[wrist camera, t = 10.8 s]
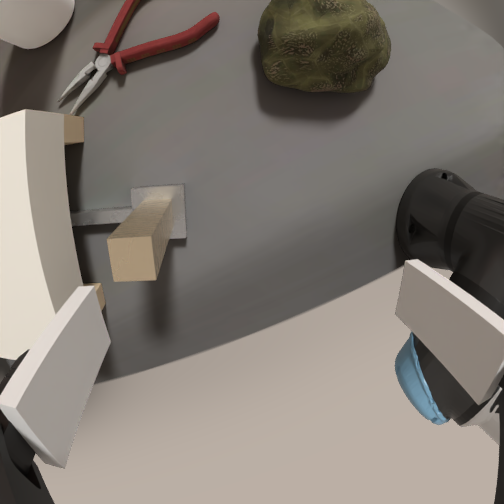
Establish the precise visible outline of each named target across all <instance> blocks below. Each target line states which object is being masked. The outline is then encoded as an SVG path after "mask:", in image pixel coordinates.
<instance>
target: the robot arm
mask: <svg viewBox="0 0 504 504" xmlns="http://www.w3.org/2000/svg"><path fill="white" fill-rule="evenodd" d="M397 235H398V239H399V243H400V245H401V248H402V249H403V251H404V253H405V254H406V255H407V256H408V257H409V258H411V259H412V260H406V261H405V265H404V271H403V277H402V282H401V288H400V293H399V298H398V303H397V308H396V312H395V314H396V315H397V316H398V317H399V318H400V319H401V320H402V321H403V323H404V324H405V325H406V326H407V327H408V328H409V329H410V330H411V331H412V332H411V334H410V337H409V339H408V340H407V342H406V343H405V344H404V346H403V347H402V349H401V350H400V351H399V353H398V355H397V357H396V361H395V371H396V375H397V378H398V381H399V384H400V386H401V388H402V389H403V391H404V393H405V395H406V396H407V398H408V399H409V400H410V402H411V403H412V404H413V406H414V407H415V408H416V409H417V410H418V411H419V413H420V414H421V415H423V416H424V417H425V418H426V419H428V420H431V421H432V423H434V424H437V425H441V424H443V423H445V422H448V421H449V420H450V419H451V418H452V419H453V420H454V421H455V422H456V423H457V424H458V425H459V426H461V427H465V426H471V425H478V426H480V427H481V428H482V429H483V430H484V431H485V432H486V433H487V434H488V435H489V436H490V437H491V438H492V439H493V440H494V441H495V442H496V443H497V444H498V445H499V467H498V478H497V487H496V495H495V502H494V504H504V200H502V199H499V198H496V197H493V196H490V195H487V194H484V193H480V192H478V191H476V190H475V189H474V188H473V187H471V186H470V185H469V184H468V183H466V182H465V181H464V180H463V179H461V178H460V177H459V176H458V175H456V174H454V173H452V172H450V171H447V170H442V169H437V168H434V169H428V170H426V171H424V172H422V173H420V174H419V175H418V176H416V177H415V178H414V179H413V180H412V182H411V183H410V184H409V186H408V187H407V189H406V191H405V193H404V195H403V197H402V200H401V202H400V206H399V210H398V215H397ZM430 267H432V268H439V269H446V270H451V271H452V272H453V274H452V275H451V277H450V279H449V280H448V279H447V278H445V277H444V276H442V275H441V274H440V273H438V272H437V271H435V270H434V269H432V268H430ZM110 343H111V341H110V338H109V335H108V332H107V328H106V325H105V322H104V319H103V315H102V312H101V309H100V305H99V302H98V298H97V294H96V290H95V287H94V286H79V287H78V288H77V289H76V290H75V291H74V293H73V294H72V295H71V296H70V297H69V299H68V300H67V301H66V302H65V304H64V305H63V306H62V307H61V309H60V310H59V311H58V312H57V314H56V315H55V316H54V318H53V319H52V320H51V322H50V323H49V324H48V326H47V327H46V328H45V330H44V331H43V332H42V334H41V335H40V336H39V338H38V339H37V340H36V342H35V343H34V345H33V346H32V348H31V349H28V350H27V351H25V352H24V353H23V354H22V355H20V356H19V357H18V358H17V360H16V361H15V363H14V364H13V365H12V367H11V370H9V371H8V373H7V374H6V378H4V379H3V380H2V382H1V384H0V504H54V502H53V500H52V498H51V496H50V494H49V491H48V489H47V487H46V485H45V483H44V480H43V478H42V476H41V473H40V471H39V469H38V467H37V465H36V464H35V462H34V461H33V458H34V455H35V453H36V454H37V455H38V456H39V457H40V458H41V459H42V461H43V462H44V463H46V464H49V465H53V466H56V467H60V468H65V466H66V463H67V459H68V456H69V453H70V449H71V446H72V443H73V440H74V437H75V434H76V431H77V428H78V425H79V422H80V419H81V416H82V414H83V411H84V408H85V405H86V403H87V400H88V397H89V394H90V392H91V389H92V387H93V384H94V382H95V379H96V376H97V374H98V372H99V369H100V367H101V364H102V362H103V359H104V357H105V355H106V352H107V350H108V348H109V345H110Z"/></svg>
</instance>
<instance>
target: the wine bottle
mask: <svg viewBox="0 0 504 504" xmlns="http://www.w3.org/2000/svg"><path fill="white" fill-rule="evenodd" d="M74 5H75V1H74V0H0V39H1V40H4V41H6V42H9V43H11V44H14V45H16V46H19V47H21V48H24V49H34V48H38V47H41V46H43V45H45V44H47V43H48V42H50V41H51V40H53V39H54V38H55V37H56V36H57V35H58V34H59V33H60V32H61V31H62V30H63V29H64V28H65V26H66V25H67V23H68V22H69V20H70V18H71V16H72V14H73V11H74Z"/></svg>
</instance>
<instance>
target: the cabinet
mask: <svg viewBox="0 0 504 504" xmlns="http://www.w3.org/2000/svg"><path fill="white" fill-rule="evenodd" d="M80 142H84V117H79V116H73V115H67V114H60V113H53V112H45V111H37V110H29V109H24V110H21V111H18V112H15V113H12V114H9V115H7V116H4V117H1V118H0V357H1V358H7V359H13V360H17V358H18V357H19V356H20V355H22V354H23V353H24V352H25V351H27V350H28V349H31V348H32V346H33V345H34V343H35V342H36V340H37V339H38V338H39V336H40V335H41V334H42V332H43V331H44V330H45V328H46V327H47V326H48V324H49V323H50V322H51V320H52V319H53V318H54V316H55V315H56V314H57V312H58V311H59V310H60V309H61V307H62V306H63V305H64V304H65V302H66V301H67V300H68V299H69V297H70V296H71V295H72V294H73V293H74V291H75V290H76V289H77V288H78V287H79V286H94V287H95V290H96V294H97V298H98V302H99V305H100V309H101V311H102V309H103V307H104V305H105V303H106V302H105V298H104V294H103V289H102V285H101V283H88V284H83V282H82V278H81V273H80V268H79V264H78V259H77V254H76V248H75V243H74V237H73V231H72V224H71V218H70V210H69V202H68V193H67V183H66V170H65V152H64V145H69V144H74V143H80Z"/></svg>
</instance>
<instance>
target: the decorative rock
mask: <svg viewBox="0 0 504 504" xmlns="http://www.w3.org/2000/svg"><path fill="white" fill-rule="evenodd" d="M258 39H259V43H260V51H261V61H262V66H263V69H264V73H265V75H266V77H267V78H268V79H269V80H270V81H271V82H273V83H275V84H277V85H280V86H285V87H290V88H295V89H300V90H303V91H306V92H322V91H332V92H337V93H352V92H360V91H365V90H367V89H368V88H369V87H370V85H371V83H372V81H373V79H374V77H375V76H376V75H377V74H378V73H379V72H380V71H381V70H383V69H384V68H385V66H386V65H387V63H388V61H389V58H390V52H391V41H390V38H389V35H388V33H387V30H386V27H385V23H384V21H383V20H382V19H381V17H380V16H379V14H378V12H377V11H376V9H375V8H374V7H373V6H372V5H371V4H370V3H368V2H367V1H366V0H271V2H270V3H269V5H268V6H267V7H266V9H265V10H264V12H263V14H262V16H261V20H260V24H259V28H258Z"/></svg>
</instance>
